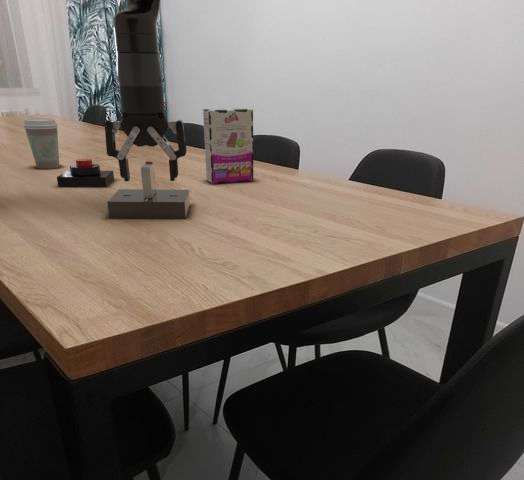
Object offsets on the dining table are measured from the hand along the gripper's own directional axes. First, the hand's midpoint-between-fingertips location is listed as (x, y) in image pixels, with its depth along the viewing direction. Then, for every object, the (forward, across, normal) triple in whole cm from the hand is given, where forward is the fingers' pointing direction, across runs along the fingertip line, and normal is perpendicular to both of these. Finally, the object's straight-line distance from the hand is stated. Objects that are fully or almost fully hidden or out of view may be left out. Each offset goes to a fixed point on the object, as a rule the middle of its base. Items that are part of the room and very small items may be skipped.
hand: (150, 180), depth 95 cm
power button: (+2, +19, -27) cm, 33 cm away
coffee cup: (+6, +35, -49) cm, 61 cm away
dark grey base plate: (+6, 0, 0) cm, 6 cm away
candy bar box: (+6, -15, -31) cm, 35 cm away
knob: (+3, 0, 0) cm, 3 cm away
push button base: (+6, +19, -27) cm, 33 cm away
